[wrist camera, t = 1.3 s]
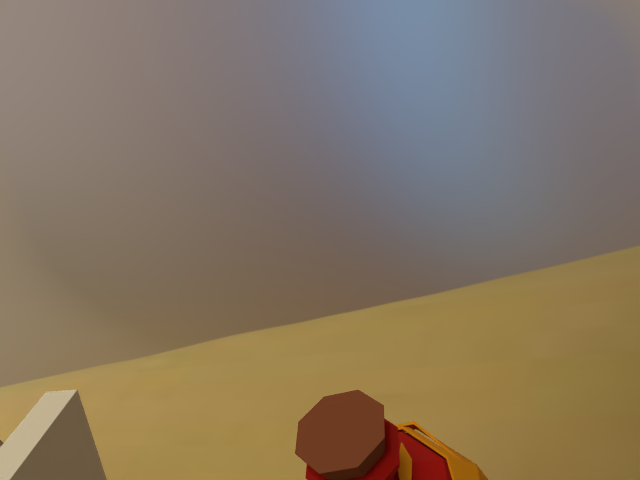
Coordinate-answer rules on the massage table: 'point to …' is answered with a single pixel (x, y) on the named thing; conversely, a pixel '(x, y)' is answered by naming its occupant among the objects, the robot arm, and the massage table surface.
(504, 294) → the massage table surface
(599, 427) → the massage table surface
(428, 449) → the potion bottle
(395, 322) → the massage table surface
